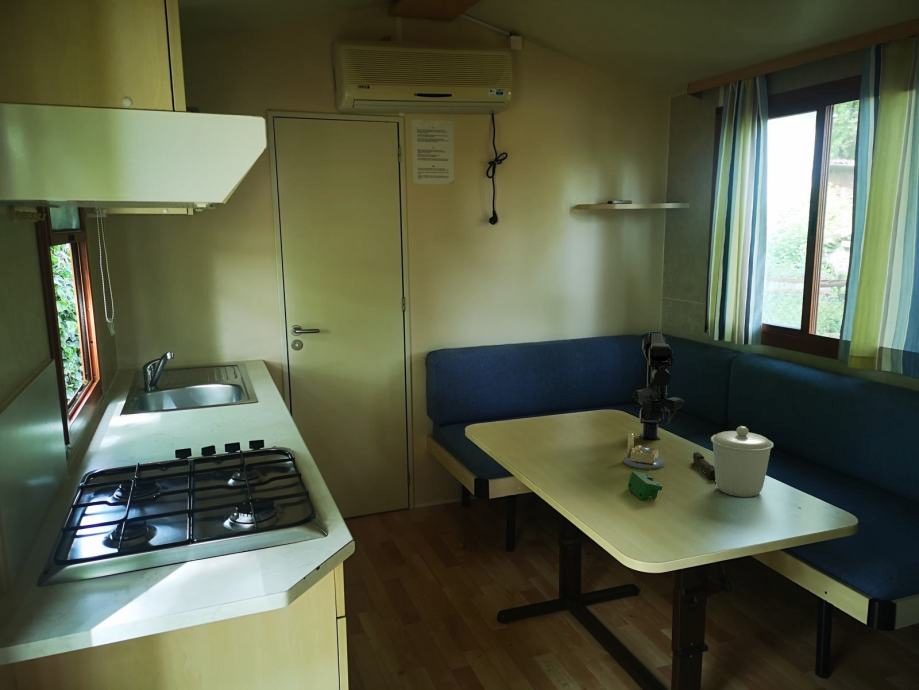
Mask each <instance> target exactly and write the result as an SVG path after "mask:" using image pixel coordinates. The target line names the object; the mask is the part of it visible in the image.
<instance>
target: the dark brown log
mask: <svg viewBox="0 0 919 690" xmlns="http://www.w3.org/2000/svg"><path fill="white" fill-rule="evenodd" d="M692 459H693V465H694V467H696V468H697V467H698V468H699V469H700V471H702V472H703V473H704V474H705V476H708V479H709V481H712V480H713V481H715V480H716V479H715V468H714V464H711V463H709V462H708V461H707V460H706V459H705V457H704V455H702V454H701V453H700V452H697V451H696V452H695V451H694V453H693V454H692ZM715 482H716V481H715Z"/></svg>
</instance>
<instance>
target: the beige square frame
mask: <svg viewBox="0 0 919 690" xmlns="http://www.w3.org/2000/svg"><path fill="white" fill-rule="evenodd" d="M634 441H635V435H634V433H631V432H630V433H628V434H627V455H626V456H627V457H628V458H630V461H636V462H643V463H650V464H654V463H655V461H656V460H657V458H658V457H659V449H658V448H656V447H654V446H650V447H649V448H650V450H647V453H641V452H639V448H640V447H643V446H642V445H641V444H638V445H637V446H636V445H635V447H634V443H635V442H634Z"/></svg>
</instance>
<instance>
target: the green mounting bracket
mask: <svg viewBox="0 0 919 690" xmlns="http://www.w3.org/2000/svg"><path fill="white" fill-rule="evenodd" d="M627 488H628V490H629V491H630V492H632V493H633V495H635V496H636V498H638V499H639V500H642V501H643V500H644V501H648V500H649V499H650V498H651V497H652V498H657V497H658V493H659V491H662V490H663V484H662V483H660V482H656V481H654V477H653V476H651V475H650V474H648V473H643V472H638V471H631V474H630V476H629V480H628V484H627Z"/></svg>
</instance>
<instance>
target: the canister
mask: <svg viewBox="0 0 919 690" xmlns="http://www.w3.org/2000/svg"><path fill="white" fill-rule="evenodd" d="M710 440H711V442H712V447H713V466H714V468H715V479H716V481H715V484H716V486H717V488H718V489H719V491H721V492H722V493H724V494H727V495H729V496H734V497H739V498H750V497H755V496H757V495H760V493H761V492H762V490H763V487H764V485H765V484H764V483H765V479H766V476H767V470H768V467H769V466H768V465H769V460H770V454H771V450H772V448H774V442H773V441H771V440H770V439H768V438H767V437H765V436H763V435H761V434H757V433H754V432H749V428H747V426H743V425H740V426H738V427H736V430H727V431H722V432H718V433H716V434H713V435H712V436H711V437H710Z"/></svg>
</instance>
